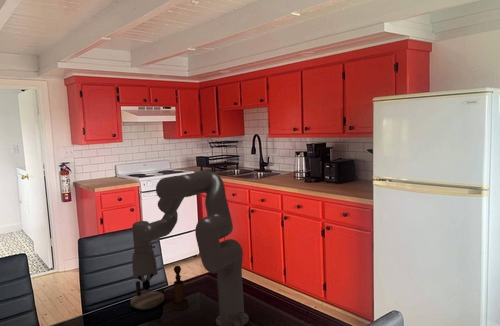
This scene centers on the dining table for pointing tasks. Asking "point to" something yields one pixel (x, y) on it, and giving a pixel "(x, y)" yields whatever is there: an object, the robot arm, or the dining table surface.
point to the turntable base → (147, 308)
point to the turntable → (146, 298)
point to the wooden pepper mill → (179, 292)
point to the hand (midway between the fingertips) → (146, 289)
